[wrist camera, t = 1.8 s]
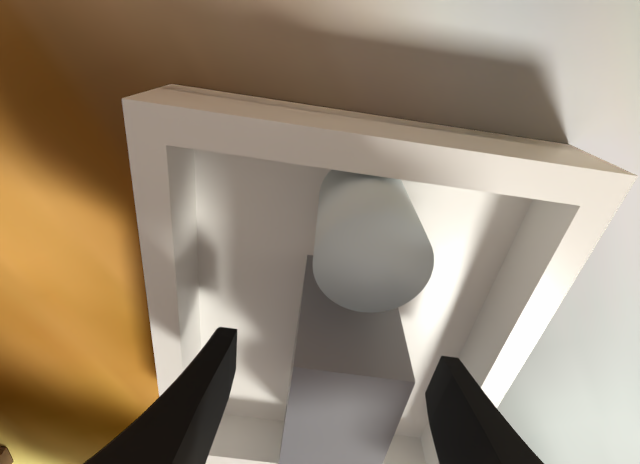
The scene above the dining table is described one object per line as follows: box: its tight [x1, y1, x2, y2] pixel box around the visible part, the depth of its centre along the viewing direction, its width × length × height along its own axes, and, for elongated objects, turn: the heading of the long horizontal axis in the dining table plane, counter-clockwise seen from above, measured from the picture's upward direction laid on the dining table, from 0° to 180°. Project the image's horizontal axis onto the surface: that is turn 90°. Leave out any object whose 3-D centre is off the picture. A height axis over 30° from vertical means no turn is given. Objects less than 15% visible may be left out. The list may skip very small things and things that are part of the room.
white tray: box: [122, 84, 638, 464], centre depth 13 cm, size 16×13×6 cm
